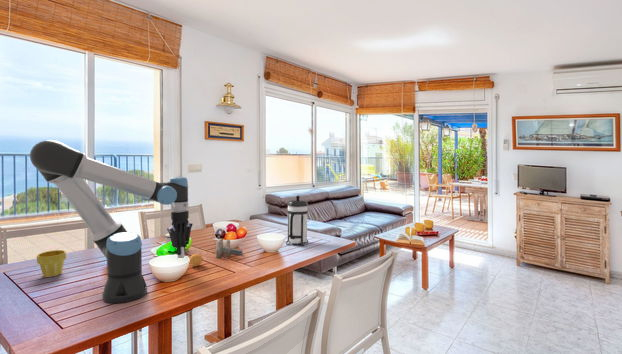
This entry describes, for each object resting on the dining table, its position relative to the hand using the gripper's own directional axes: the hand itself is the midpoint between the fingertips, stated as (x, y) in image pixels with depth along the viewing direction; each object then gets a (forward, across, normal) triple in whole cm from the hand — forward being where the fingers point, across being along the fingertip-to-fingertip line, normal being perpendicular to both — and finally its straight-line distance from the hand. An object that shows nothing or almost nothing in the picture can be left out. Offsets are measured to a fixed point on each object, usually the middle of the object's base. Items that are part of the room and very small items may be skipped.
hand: (181, 260), depth 158 cm
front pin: (+6, +25, 0) cm, 26 cm away
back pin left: (+6, +29, +3) cm, 30 cm away
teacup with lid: (+6, +23, +32) cm, 40 cm away
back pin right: (+6, +29, -2) cm, 30 cm away
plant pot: (+5, -31, +46) cm, 56 cm away
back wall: (+6, +34, 0) cm, 34 cm away
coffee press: (+7, +69, -23) cm, 73 cm away
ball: (+2, +9, 0) cm, 9 cm away
